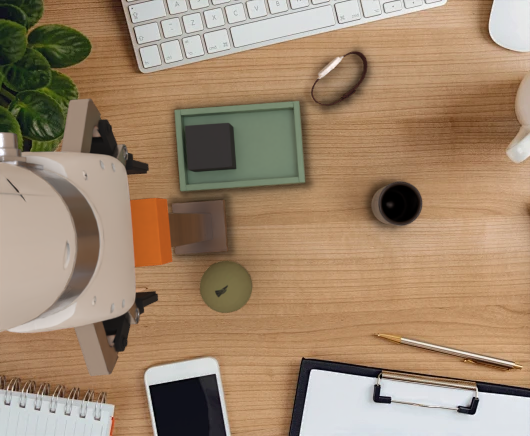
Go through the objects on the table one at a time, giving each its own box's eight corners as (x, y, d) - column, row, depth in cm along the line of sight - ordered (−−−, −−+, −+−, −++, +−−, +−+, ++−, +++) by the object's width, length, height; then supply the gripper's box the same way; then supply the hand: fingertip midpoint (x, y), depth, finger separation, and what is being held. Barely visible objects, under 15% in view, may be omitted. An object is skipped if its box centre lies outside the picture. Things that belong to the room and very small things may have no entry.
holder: (184, 191, 72) (180, 191, 70) (178, 112, 72) (174, 109, 70) (305, 183, 72) (305, 182, 70) (299, 104, 72) (299, 100, 70)
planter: (394, 178, 72) (405, 172, 62) (416, 209, 72) (431, 208, 62) (363, 200, 72) (369, 198, 62) (385, 231, 72) (395, 234, 62)
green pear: (243, 312, 72) (229, 327, 62) (203, 286, 72) (183, 298, 62) (268, 272, 72) (259, 281, 62) (229, 247, 72) (213, 252, 62)
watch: (349, 45, 72) (350, 36, 69) (376, 74, 72) (378, 67, 69) (301, 89, 72) (300, 82, 69) (328, 118, 72) (328, 113, 69)
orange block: (109, 267, 48) (94, 270, 45) (104, 204, 48) (88, 203, 45) (172, 261, 48) (161, 265, 45) (167, 198, 48) (155, 197, 45)
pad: (194, 172, 72) (187, 170, 69) (191, 129, 72) (184, 125, 68) (236, 169, 72) (232, 166, 69) (233, 126, 72) (229, 122, 69)
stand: (177, 254, 72) (103, 273, 48) (174, 203, 72) (97, 197, 48) (228, 250, 72) (178, 267, 48) (224, 200, 72) (173, 192, 48)
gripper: (-77, 68, 29) (76, 123, 46) (-50, 430, 29) (92, 350, 46) (79, 57, 29) (174, 115, 46) (106, 419, 29) (191, 343, 46)
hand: (133, 233), depth 46 cm, fingers open, 9 cm apart
